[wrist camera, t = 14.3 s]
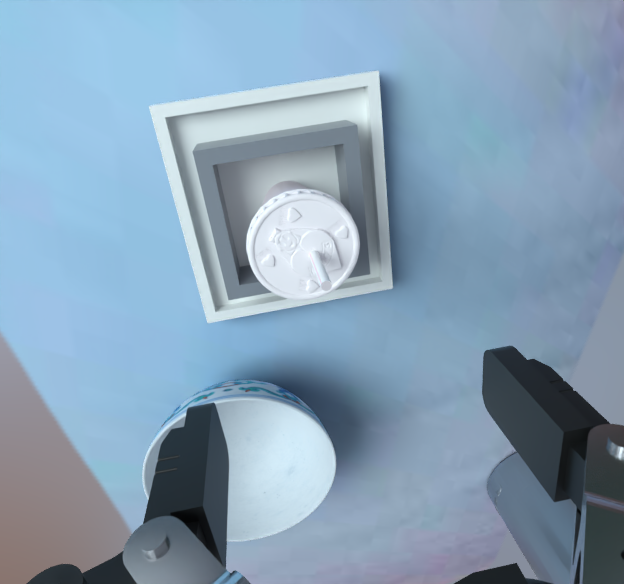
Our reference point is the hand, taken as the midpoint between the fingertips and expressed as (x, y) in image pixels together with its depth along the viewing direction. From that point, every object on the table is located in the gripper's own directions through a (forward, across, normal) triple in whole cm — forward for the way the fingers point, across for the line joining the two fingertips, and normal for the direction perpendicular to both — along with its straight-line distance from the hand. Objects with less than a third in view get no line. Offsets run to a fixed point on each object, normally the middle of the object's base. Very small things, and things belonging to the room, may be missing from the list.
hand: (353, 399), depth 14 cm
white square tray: (+24, 0, 0) cm, 24 cm away
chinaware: (+24, +7, +19) cm, 32 cm away
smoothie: (+23, 0, 0) cm, 23 cm away
